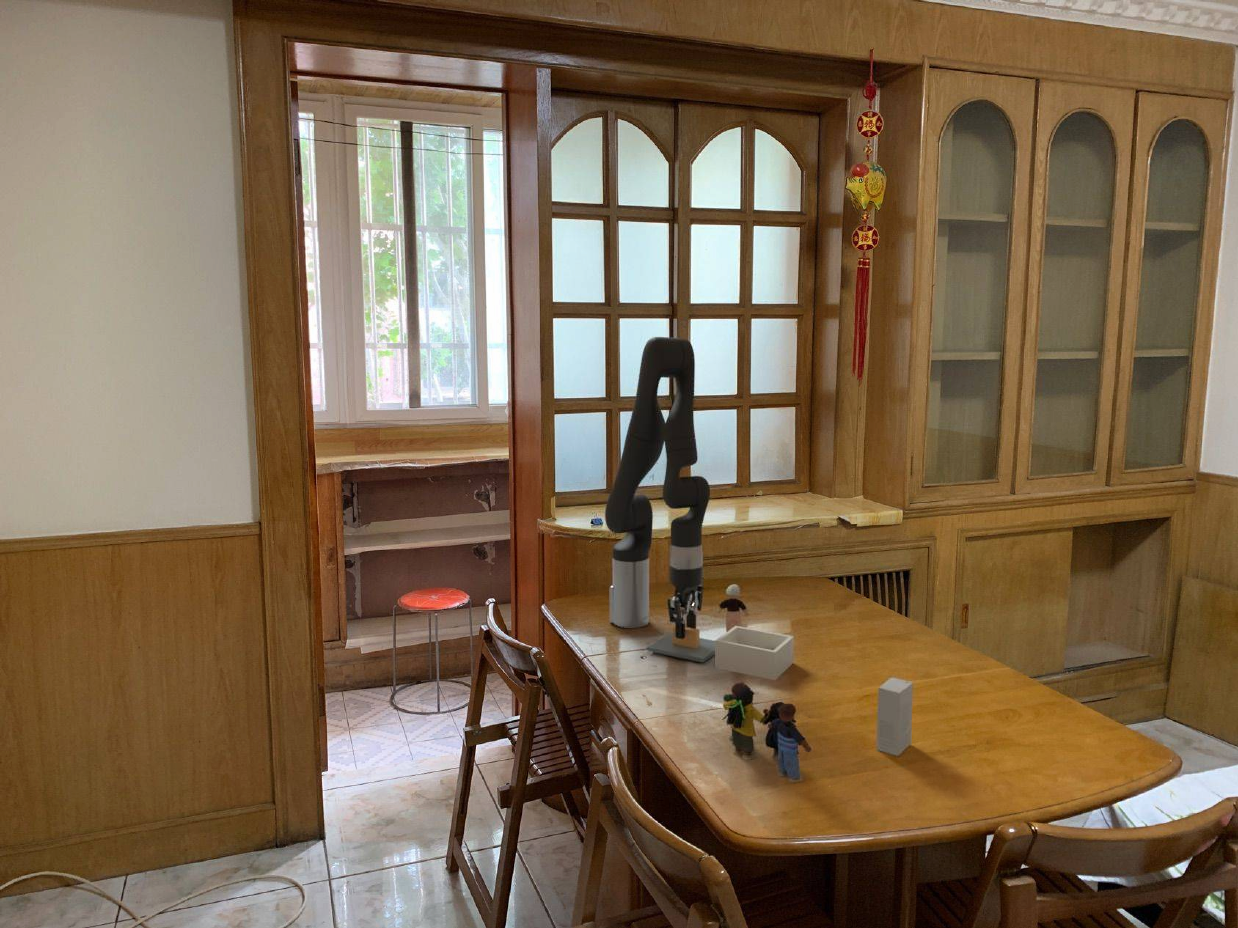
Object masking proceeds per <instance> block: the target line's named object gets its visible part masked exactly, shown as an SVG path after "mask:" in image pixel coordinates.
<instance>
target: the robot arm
mask: <svg viewBox="0 0 1238 928" xmlns="http://www.w3.org/2000/svg"><path fill="white" fill-rule="evenodd" d="M694 351H695V350H694V348H693V345H692V343H691V342H690V341H689V340H688V339H686V338H682V337H668V336H667V337H666V336H665V337H664V336H652V337H650V338H649V339H648V340H647V342H646V343H645V345H644V347H643V351H642V354H641V361H640V367H639V372H638V373H639V374H638V381H637V389H636V394H635V399H634V404H633V407H632V413H631V416H630V419H629V423H628V426H627V431H626V436H625V440H624V444H623V449H622V454H621V458H620V462H619V465H618V470H617V472H616V476H615V478H614V482H613V484H612V486H611V490H610V492H609V496H608V499H607V502H606V505H605V510H604V511H605V512H604V513H605V514H604V517H605V524H606V526H607V528H608V530H609V531H610V532H612V533H614V534H625V533H626V534H625V535H624V537H622V539H621V540H620V541H618V542H617V543H616V544H614V546H613V547H612V550H611V551H612V553H611V554H612V555H611V556H612V562H611V563H612V585H610V586H609V589H608V591H609V593H608V594H609V623H610V622H613V623H614V625H615V626H616V625H617V626H616V627H619V626H620V627H619V628H623V627H624V628H626V629H636V628H642V627H645V626H648V625H649V622H650V550H651V547H652V541H653V540H652V539H653V524H654V523H653V521H654V520H653V519H654V515H653V507H652V506H653V505H652V503H651V501H650V499H649V498H648V497H647V496H646V495H645V494H643V493H637V490H638V488H639V486H640V484H641V483H642V481H643V480H644V478H645V477H646V476H647V475H648V474H649V473H650V471H651V470H652V468H654V466H656V464H657V462H658V460H659V459H660V457H661V455H662V452H663V448H664V446H665V455H666V457H665V458H666V464H665V465H666V466H665V476H664V482H663V486H662V498H663V502H664V503H665V505H666V506H667V507H668V508H670V509H672V510H673V509H674V510H676V509H678V510H679V509H689V510H688V512H686V514H684V515H682V516H679V517H678V516H677V517H675V518H674V519H673V520H671V523H670V547H669V548H670V549H669V583H670V584H671V585H673V586H674V593H673V597H669V598H667V600H666V602H667V609H668V610H667V611H668V618H669V622H670V623H675V625H674V626H675V637H676V638H678V639H684V638H685V627H689V628H694V629H697V616H698V614H699V612H700V611H701V610H702V606H703V594H704V585H702V583H703V575H704V574H703V573H704V572H703V571H704V570H703V569H704V567H703V566H704V565H703V563H704V562H703V561H704V558H703V556H704V555H703V547H702V546H703V545H702V542H703V541H702V538H703V535H702V534H703V524H704V519H705V515H706V512H707V508H708V505H709V501H710V497H711V488H710V483H709V482H708V480H707V479H706V478H705V477H704V476H700V475H692V476H690V475H689V476H680V473H681V470H682V469H684V468H689V467H691V466H694V465H696V464H697V462H698V450H697V449H698V448H697V439H696V431H695V420H694V416H695V415H694V412H695V411H694V408H695V407H694V405H695V379H696V377H695V374H696V371H695V370H696V367H695V366H696V365H695V364H696V361H695V352H694ZM661 378H669V379H672V378H673V379H674V380H675V385H676V386H675V388H676V390H675V391H676V393H675V398H674V401H673V404H672V407H671V410H669V414H668V416H667V418H666V420H665V417H664V414H663V412H662V409H661V407H660V404H659V401H658V390H659V384H660V382H661ZM681 608H682V609H681ZM613 623H612V624H613Z"/></svg>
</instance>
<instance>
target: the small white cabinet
mask: <svg viewBox="0 0 1238 928" xmlns="http://www.w3.org/2000/svg"><path fill="white" fill-rule="evenodd" d="M794 638H795V636H793V635H789V634H788V635H787V634H784V633H783V634H782V633H776V632H770V631H766V630H760V629H756V628H755V629H754V628H751V627H745V626H742V627H740V626H735V627H733V628H732V629H730V630H729V631H728V632H727V631H726V632H725V633H723V634H722V635H720V636H719V637H718V638H716V639H715V640H714V641H715V654H714V668H716V669H720V670H724V671H730V672H734V673H739V674H743V675H748V676H752V677H757V678H758V677H759V678H762V679H767V680H772V681H776V680H777V679H778V678H779V677H780V676H781V675H782V674H783V673H785V672H786V670H788V669H789V668H790V667H791V666H792V665H793V664H794ZM764 648H766V649H764ZM768 649H772V650H768Z"/></svg>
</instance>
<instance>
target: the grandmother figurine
mask: <svg viewBox="0 0 1238 928" xmlns="http://www.w3.org/2000/svg"><path fill="white" fill-rule="evenodd" d="M740 590H741V588H740V586H739V585H738V584H735V583H734V584H731V585H729V586H728V587H727V588H726V593H725V594H727V596H728V597H729V598H727V599H724V600H723V601H721V602H720V604H718V609H717V610H716V612H717V613H718V614H721V612H722V610H723V609H726V612H725V631H726V632H728V631H729V630H730V629H732V628H733V627H735V626H740V627H743V625H742V613H741V610H742V612H743V613H744V616H745V617H749V615H750V613H749V611H748V609H747V606H746V605H745V603H744V602H743V601H742V600H740V599H738V597H739V596H740V592H741V591H740Z"/></svg>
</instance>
